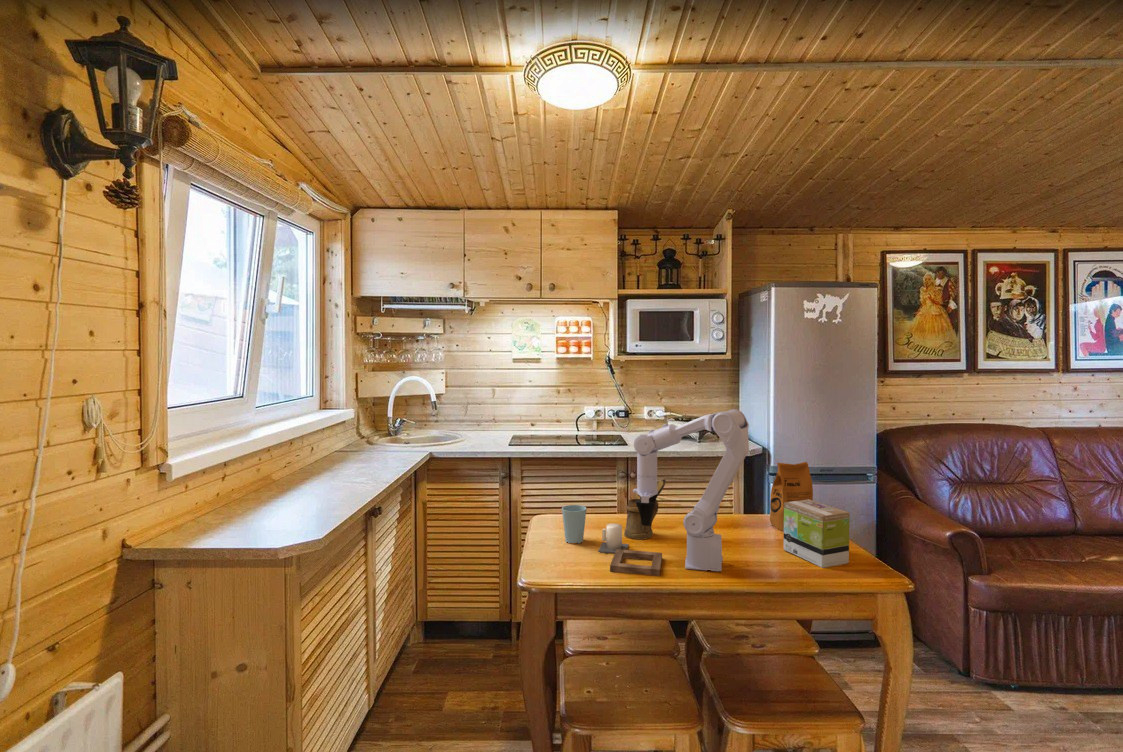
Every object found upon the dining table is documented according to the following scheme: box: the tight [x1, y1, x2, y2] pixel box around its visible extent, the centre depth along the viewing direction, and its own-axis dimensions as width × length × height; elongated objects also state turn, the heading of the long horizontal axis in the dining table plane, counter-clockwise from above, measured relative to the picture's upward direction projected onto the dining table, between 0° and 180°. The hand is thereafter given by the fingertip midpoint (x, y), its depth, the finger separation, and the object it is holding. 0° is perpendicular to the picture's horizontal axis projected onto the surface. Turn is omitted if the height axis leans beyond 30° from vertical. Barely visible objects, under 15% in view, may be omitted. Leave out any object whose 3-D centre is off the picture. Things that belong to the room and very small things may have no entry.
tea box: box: [783, 499, 851, 569], centre depth 157 cm, size 15×10×15 cm
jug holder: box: [609, 549, 663, 577], centre depth 152 cm, size 13×13×2 cm
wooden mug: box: [623, 478, 666, 540], centre depth 177 cm, size 9×14×18 cm, turn 95°
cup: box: [561, 504, 587, 544], centre depth 172 cm, size 8×8×10 cm
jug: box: [601, 523, 623, 550], centre depth 165 cm, size 6×5×6 cm
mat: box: [597, 541, 630, 555], centre depth 164 cm, size 8×8×1 cm
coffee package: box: [769, 461, 814, 532], centre depth 185 cm, size 10×12×22 cm
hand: (647, 521), depth 160 cm, fingers open, 7 cm apart
